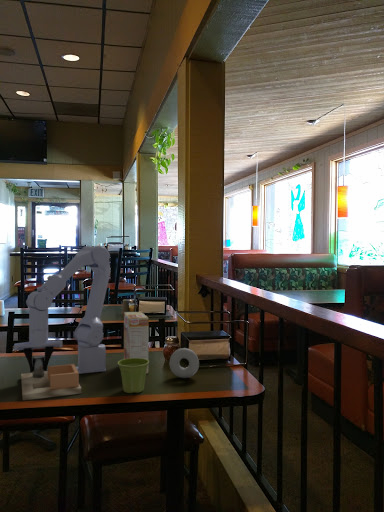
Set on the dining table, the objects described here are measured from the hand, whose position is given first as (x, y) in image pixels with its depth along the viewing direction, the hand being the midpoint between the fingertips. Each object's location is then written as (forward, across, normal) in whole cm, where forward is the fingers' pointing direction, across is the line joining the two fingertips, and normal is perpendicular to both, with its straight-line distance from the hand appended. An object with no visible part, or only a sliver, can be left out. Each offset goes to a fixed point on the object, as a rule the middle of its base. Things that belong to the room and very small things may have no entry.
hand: (38, 371), depth 133 cm
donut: (+3, -45, +14) cm, 47 cm away
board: (+3, -3, +6) cm, 7 cm away
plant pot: (+3, -26, +20) cm, 33 cm away
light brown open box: (+2, -6, +10) cm, 12 cm away
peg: (+2, 0, 0) cm, 2 cm away
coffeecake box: (+4, -33, -3) cm, 33 cm away
